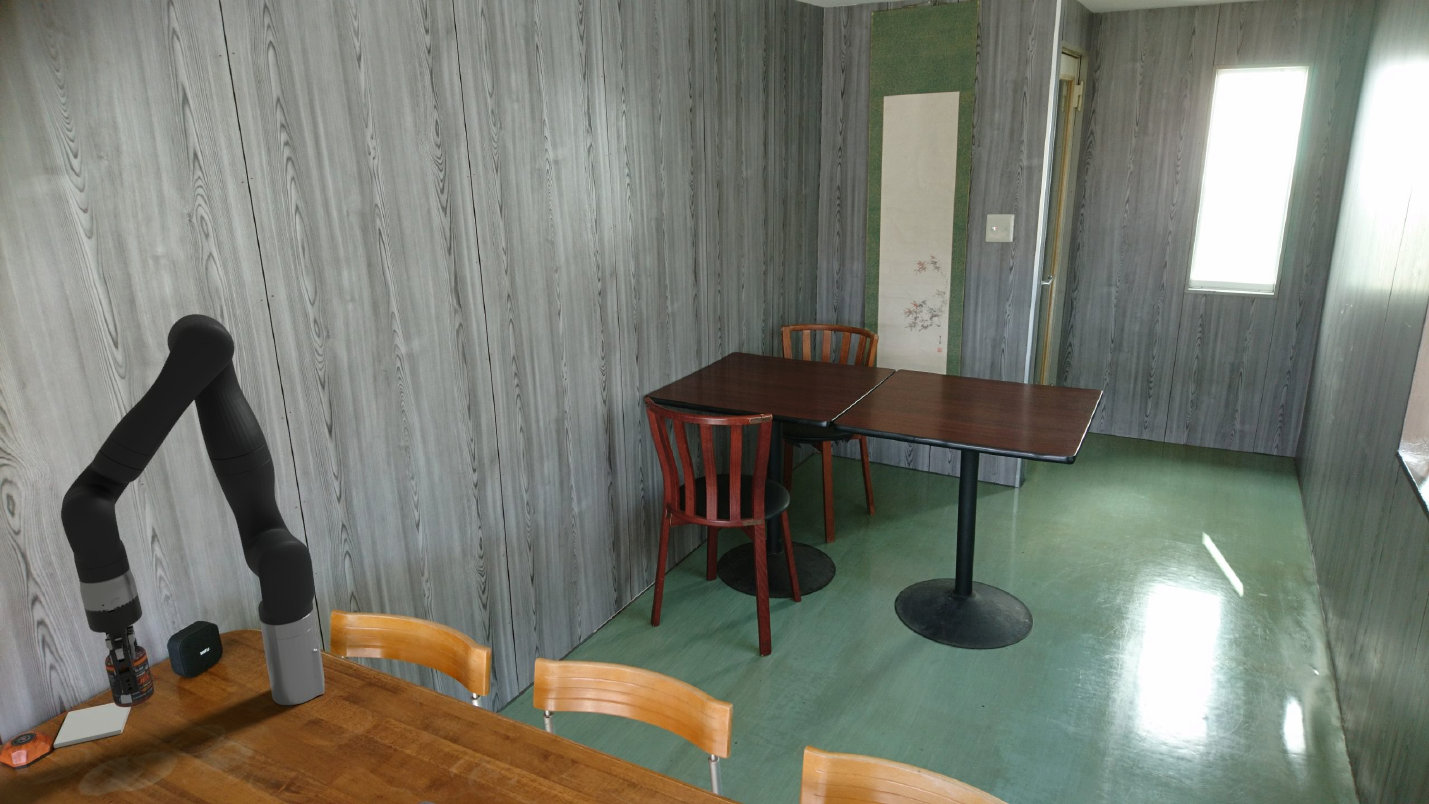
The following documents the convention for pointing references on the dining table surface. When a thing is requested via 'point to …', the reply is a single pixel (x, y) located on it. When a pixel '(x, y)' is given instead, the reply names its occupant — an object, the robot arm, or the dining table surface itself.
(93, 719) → the coaster
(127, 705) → the supplement bottle
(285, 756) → the dining table surface
